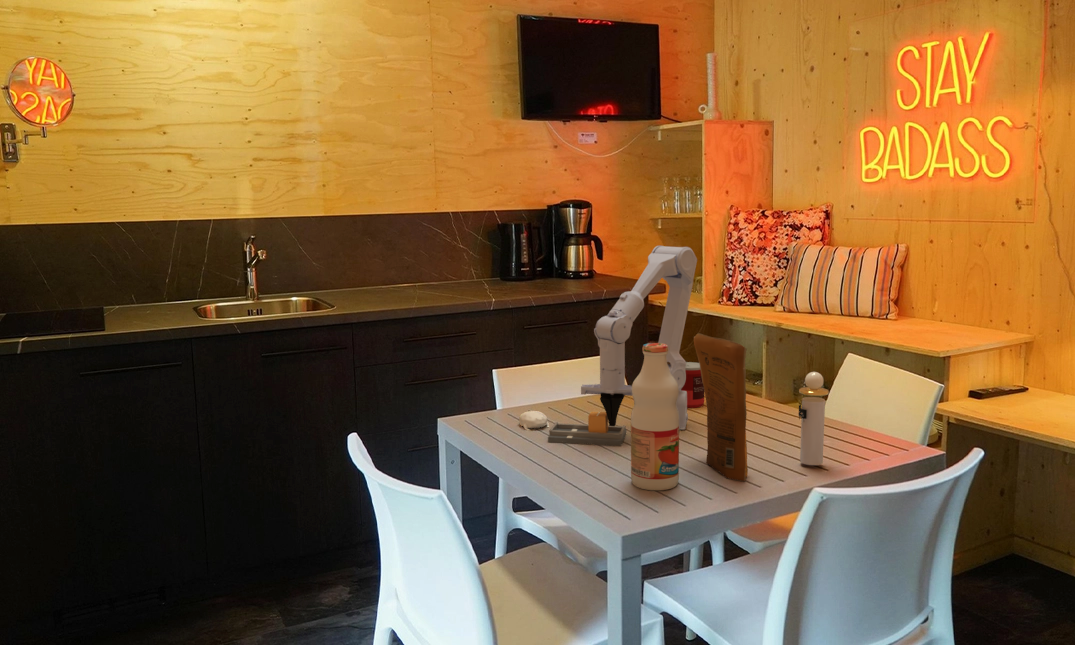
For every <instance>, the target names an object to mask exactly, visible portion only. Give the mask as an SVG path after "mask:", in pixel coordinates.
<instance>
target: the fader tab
mask: <svg viewBox="0 0 1075 645" xmlns="http://www.w3.org/2000/svg"><path fill="white" fill-rule="evenodd" d="M587 418H588V421H587V422H588V424H587V425H588V431H589V432H599V433H607V431H608V426H609V421H608V417H607V414H606V411H590V413H588V417H587Z"/></svg>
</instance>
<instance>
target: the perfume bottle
mask: <svg viewBox="0 0 1075 645" xmlns="http://www.w3.org/2000/svg"><path fill="white" fill-rule="evenodd" d="M804 382H805V385H806V386H805V387H800V388H799V391H798V392H799V394H801V395H804V397H802V398H801V400H800V401H799V403H798V419H799V421H800V420H801V423H800V424H801V426H800V449H799V450H800V452H799V454H800V455H799V462H800V463H802V464H804V465H807V466H821V465H822V464H823V463H824V441H825V440H824V437H825V413H826V412H825V410H826V400H825V398H822V397H825V396H828V395H829V394H830V392H829V389H826V388H823V385H824V377H823V375H822V374H821V373H819V372H817V371H811V372H809V373H807V374H806V376H805V378H804ZM800 418H801V419H800Z"/></svg>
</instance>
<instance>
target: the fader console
mask: <svg viewBox="0 0 1075 645" xmlns="http://www.w3.org/2000/svg"><path fill="white" fill-rule="evenodd" d="M626 427H627V426H626V425H622V426H621V425H615V426H609V425H608V431H607V433H599V432H589V431H588V424H581V423H563V422H558V421H557V422H556V421H555V422H554V424H553V425H552V426H551V428H549V431H548V432H549V433H548V434H549V435H548V437H547V442H548V443H555V444H556V443H558V444H559V443H560V444H573V443H577V444H578V445H591V444H595V445H597V446H614V447H615V446H616V447H622V445H621V444H623V442H624V440H625V437H626V436H627V434H628V433H627V432H628V430H627V428H626ZM626 433H627V434H626ZM595 445H594V446H595Z"/></svg>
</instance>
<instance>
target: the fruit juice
mask: <svg viewBox="0 0 1075 645" xmlns="http://www.w3.org/2000/svg"><path fill="white" fill-rule="evenodd" d="M642 353H643V354H642V355H643V356H644V357H643V358H644V359H643V362H642V367H641V370H640V372H639V374H638V375H637V376H636V377H635V379H634V380H633V382H632V384H631V386H632V396H631V397H632V400H633V406H632V409H631V414H630V415H631V416H630V479H631V483H632V484H633V486H635V487H636V488H639V489H641V490H642V489H643V490H646V491H647V490H648V491H665V490H666V491H667V490H670V489H673V488H675V487H677V486H678V484H679V478H680V475H679V474H680V473H679V471H680V469H679V468H680V465H679V464H680V430H679V412H678V409H677V407H676V401H677V398H678V394H679V388H678V384H677V382H676V380H675V379H674V377H673V376H672V375H671V373H670V370H669V368H668V364H669V363H668V362H667V359H666V355H667V354H668V345H666V344H662V343H658V342H650V343H649V342H647V343H645V344H643V345H642Z"/></svg>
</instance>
